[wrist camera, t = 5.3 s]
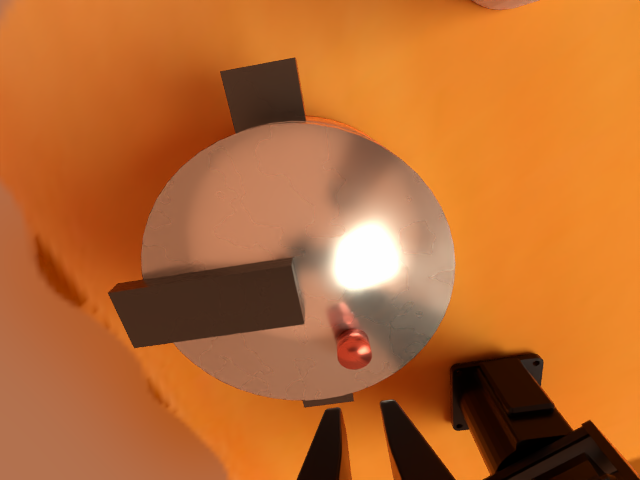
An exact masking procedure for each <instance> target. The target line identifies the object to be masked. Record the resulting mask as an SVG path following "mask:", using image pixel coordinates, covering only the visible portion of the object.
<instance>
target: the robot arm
mask: <svg viewBox="0 0 640 480" xmlns="http://www.w3.org/2000/svg"><path fill="white" fill-rule="evenodd" d="M534 361H535V362H534ZM542 370H543V360H542V359H541V357H540V356H539V355H537V354H530V355H522V356H515V357H507V358H500V359H492V360H485V361H477V362H470V363H462V364H456V365H454V366H452V367H451V369H450V385H451V423H452V426H453V428H454V429H455V430H457V431H460V430H468V429H469V430H470V432H471V434H472V436H473V438H474V441H475V443H476V445H477V447H478V449H479V451H480V454H481V456H482V458H483V460H484V462H485V464H486V466H487V469H488V471H489V473H490V476H489V477H487V478H485V479H483V480H640V476H639V474H638V473H637V472H636V471H635V470H634V469H633V467H632V466H631V465H630V464H629V463H628V462H627V460H626V459H625V458H624V457H623V456H622V455H621V454H620V453H619V451H618V450H617V449H616V448H615V447H614V446H613V445H612V444H611V443H610V442H609V440H608V439H607V438H606V437H605V436H604V435H603V434H602V433H601V432H600V430H599V429H598V428H597V427H596V426H595V425H594V424H593V423H592V422H591V421H590V420H589V421H587V422H585V423H583V424H581V425H582V427H580V428H578V429H576V430H573V429H572V428H571V427H570V425H569V424H568V423H567V421H566V420H565V419H564V418H563V416H562V415H561V414H560V412H559V411H558V410H557V409H556V407H555V405H554V403H553V402H552V401H551V399H550V398H549V397H548V395H547V394H546V393H545V392H544V390H543V389H542V388H541V379H542ZM457 371H459V372H457ZM380 408H381V414H382V420H383V426H384V431H385V436H386V441H387V447H388V452H389V457H390V462H391V468H392V473H393V478H394V480H455V478H454V477H453V476H452V474H451V473H450V472H449V470H448V469H447V468H446V466H445V465H444V464H443V462H442V461H441V460H440V458H439V457H438V456H437V454H436V453H435V452H434V450H433V449H432V448H431V447H430V445H429V444H428V443H427V441H426V440H425V439H424V437H423V436H422V435H421V433H420V432H419V431H418V429H417V428H416V427H415V425H414V424H413V423H412V421H411V420H410V419H409V417H408V416H407V415H406V414H405V412H404V411H403V410H402V408H401V407H400V406H399V404H398V403H397V402H396V401H395V400H385V401H381V402H380ZM297 480H352V478H351V469H350V460H349V451H348V443H347V434H346V428H345V424H344V420H343V415H342V411H341V409H340V408H339V407H336V408H329V409H326V410H325V412H324V414H323V417H322V419H321V422H320V424H319V426H318V429H317V431H316V434H315V436H314V439H313V441H312V443H311V446H310V448H309V451H308V453H307V456H306V458H305V461H304V463H303V465H302V468H301V470H300V473H299V475H298V478H297Z"/></svg>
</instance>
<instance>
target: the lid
mask: <svg viewBox="0 0 640 480" xmlns="http://www.w3.org/2000/svg"><path fill="white" fill-rule="evenodd" d="M141 262H142V276H143V280H138V281H132V282H125V283H118V284H117V285H116V286H115V287H114V288H113V289H112V290H111V291H110V292H108V294H109V296H110V298H111V300H112V303H113V305H114V307H115V309H116V311H117V313H118V315H119V317H120V319H121V321H122V324H123V326H124V328H125V330H126V332H127V334H128V336H129V338H130V340H131V342H132V345H133V347H134V348H139V347H146V346H153V345H160V344H167V343H174V344H175V346H176V347H177V348H178V349H179V350H180V351H181V352H182V353H183V354H184V355H185V356H186V357H187V358H188V359H190V360H191V361H192V362H193V363H194V364H195V365H197V366H198V367H200V368H201V369H202V370H204V371H205V372H207V373H208V374H210V375H211V376H213V377H215V378H217V379H219V380H220V381H222V382H224V383H226V384H229V385H231V386H233V387H235V388H238V389H240V390H244V391H247V392H250V393H253V394H256V395H261V396H265V397H270V398H277V399H285V400H317V399H327V398H332V397H338V396H342V395H346V394H350V393H353V392H357V391H359V390H362V389H364V388H367V387H369V386H372V385H374V384H376V383H378V382H380V381H382V380H384V379H386V378H387V377H389V376H391V375H392V374H393V373H395V372H396V371H398V370H399V369H401V368H402V367H403V366H405V365H406V364H407V363H408V362H409V361H411V360H412V359H413V358H414V357H415V356H416V355H417V354H418V353H419V352H420V351H421V350H422V349H423V347H424V346H425V345H426V344H427V343H428V341H429V340H430V339H431V337H432V336H433V334H434V333H435V332H436V330H437V328H438V326H439V324H440V323H441V321H442V319H443V317H444V315H445V312H446V309H447V307H448V304H449V301H450V298H451V294H452V289H453V284H454V275H455V255H454V245H453V240H452V236H451V232H450V228H449V225H448V223H447V220H446V218H445V215H444V213H443V210H442V208H441V206H440V205H439V203H438V201H437V200H436V198H435V196H434V195H433V193H432V191H431V190H430V189H429V187H428V186H427V185H426V184H425V183H424V181H423V180H422V179H421V178H420V177H419V175H418V174H417V173H416V172H415V171H414V170H412V169H411V168H410V167H409V166H408V165H407V164H406V163H405V162H404V161H402V160H401V159H400V158H399V157H397V156H396V155H395V154H393V153H392V152H390V151H389V150H387V149H386V148H384V147H383V146H381V145H380V144H378V143H376V142H374V141H372V140H370V139H368V138H366V137H364V136H362V135H360V134H358V133H355V132H352V131H349V130H345V129H342V128H339V127H336V126H331V125H325V124H319V123H312V122H283V123H274V124H266V125H262V126H258V127H254V128H250V129H246V130H244V131H241V132H239V133H236V134H234V135H232V136H229V137H227V138H224V139H222V140H220V141H218V142H216V143H214V144H213V145H211V146H209V147H208V148H206V149H204V150H202V151H201V152H199V153H198V154H197V155H195V156H194V157H193V158H192V159H191V160H189V161H188V162H187V163H186V164H184V165H183V166H182V167H181V168H180V169H179V170H178V171H177V173H176V174H175V175H174V176H173V177H172V178H171V179H170V180H169V181H168V183H167V184H166V186H165V187H164V189H163V190H162V192H161V193H160V195H159V196H158V198H157V199H156V202H155V204H154V206H153V208H152V210H151V213H150V215H149V217H148V220H147V224H146V228H145V232H144V235H143V243H142V252H141Z"/></svg>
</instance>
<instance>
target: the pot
mask: <svg viewBox="0 0 640 480" xmlns="http://www.w3.org/2000/svg"><path fill="white" fill-rule="evenodd" d="M220 73H221V77H222V81H223V85H224V89H225V93H226V97H227V101H228V105H229V109H230V113H231V117H232V121H233V125H234V129H235V133H239V132H241V131H244V130H246V129H250V128H254V127H258V126H262V125H266V124H274V123H283V122H312V123H319V124H325V125H331V126H336V127H339V128H342V129H345V130H349V131H352V132H355V133H358V134H360V135H362V136H364V137H366V138H368V139H370V140H372V141H374V142H376V141H375V140H373V139H372V138H370V137H369V136H367V135H366V134H364V133H363V132H361V131H359V130H357V129H355V128H353V127H351V126H349V125H347V124H343V123H340V122H337V121H334V120H331V119H326V118H320V117H314V116H306V114H305V108H304V102H303V96H302V90H301V84H300V78H299V72H298V67H297V61H296V58H290V59H285V60H279V61H274V62H269V63H263V64H258V65H253V66H247V67H242V68H236V69H231V70H226V71H220ZM231 136H232V135H231ZM376 143H378V142H376ZM378 144H379V143H378ZM381 146H382V145H381ZM384 148H385V147H384ZM387 150H388V149H387ZM351 401H354V399H353V393H350V394H346V395H342V396H338V397H332V398H327V399H317V400H303V404H304V407H312V406H320V405H327V404H335V403H343V402H351Z"/></svg>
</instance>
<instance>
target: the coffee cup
mask: <svg viewBox="0 0 640 480" xmlns="http://www.w3.org/2000/svg"><path fill="white" fill-rule="evenodd" d="M472 1H474V2H475V3H477V4H479V5H481V6H483V7H486V8H490V9H497V10H502V9H511V8H516V7H519V6H522V5H526V4H529V3H532V2H535V1H538V0H472Z"/></svg>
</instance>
